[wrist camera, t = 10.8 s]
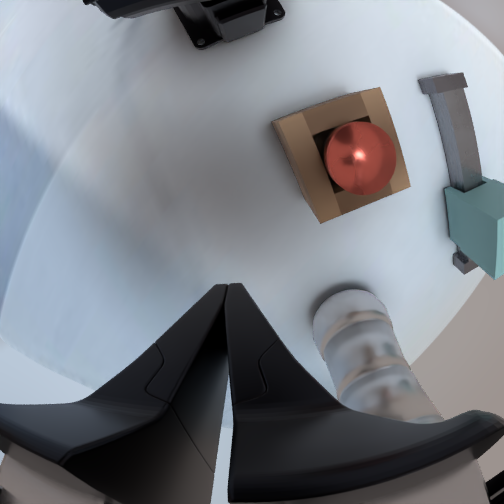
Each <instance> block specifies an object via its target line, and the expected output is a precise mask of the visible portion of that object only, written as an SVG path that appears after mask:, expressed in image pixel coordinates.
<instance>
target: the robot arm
mask: <svg viewBox="0 0 504 504" xmlns="http://www.w3.org/2000/svg"><path fill="white" fill-rule="evenodd" d="M83 2H84V4H85V5H89V4H92V5H94V6H97V7H98V8H99V9H100V11H101V12H103V13H104V14H106V15H107V16H109V17H111V18H113V19H117V18H119V17H124V18H136V17H139V16H142V15H146V14H149V13H153V12H156V11H160V10H164V9H168V8H172V7H173V8H174V10H175V12H176V14H177V15H178V17H179V19H180V21H181V22H182V24H183V26H184V28H185V30H186V31H187V33H188V35H189V37H190V39H191V40H192V42H193V44H194V46H195V47H196V48H197V49H200V50H202V49H206V48H208V47H210V46H212V45H214V44H217V43H219V42H221V41H223V40H224V41H226V42H230V41H233V40H235V39H238V38H240V37H243V36H245V35H248V34H251V33H253V32H256V31H259V30H262V29H263V27H264V25H266V24H269V23H272V22H275V21H278V20H281V19H283V18H284V16H285V11H284V9H283V7H282V6H281V4H280V2H279V1H278V0H83ZM274 12H280V13H281V15H275V14H274ZM201 40H204V41H205V43H204V44H203V45H198V43H199V41H201ZM228 375H229V378H230V389H231V400H232V410H233V436H232V446H231V457H230V468H229V478H228V502H229V503H230V504H504V470H503V471H502V472H500V473H499V474H498V475H496V476H495V477H493V478H492V479H491V480H489V481H487V482H486V483H485V480H484V478H483V475H482V472H481V470H480V467H479V464H478V461H477V459H478V458H479V457H480V456H481V455H483V454H484V453H485V452H486V451H487V450H488V449H490V448H491V447H492V446H493V445H494V444H495V443H496V442H497V441H498V440H499V439H500V438H501V437H502V436H503V435H504V419H503V418H502V417H500V416H498V415H496V414H493V413H490V412H483V411H480V410H471V411H467V412H465V413H462V414H460V415H458V416H455V417H453V418H451V419H448V420H445V421H442V422H437V423H427V424H419V423H411V422H405V421H400V420H395V419H390V418H385V417H380V416H376V415H372V414H367V413H363V412H359V411H355V410H352V409H350V408H348V407H346V406H345V405H343V404H342V403H340V402H339V401H338V400H337V399H335V398H334V397H333V396H332V395H331V394H330V393H329V392H328V391H327V390H326V389H325V388H324V387H323V386H322V385H321V384H320V383H319V382H318V381H317V380H316V379H315V378H314V377H313V376H312V375H311V374H309V373H308V372H307V371H306V370H305V368H304V367H303V366H302V365H301V364H300V363H299V362H298V361H297V360H296V359H295V358H294V356H293V355H292V354H291V353H290V351H289V350H288V349H287V347H286V346H285V345H284V343H283V342H282V340H280V338H279V336H278V335H277V333H276V332H275V331H274V329H273V328H272V326H271V325H270V323H269V322H268V321H267V319H266V318H265V316H264V315H263V313H262V312H261V310H260V309H259V308H258V306H257V305H256V303H255V302H254V300H253V299H252V297H251V296H250V294H249V293H248V292H247V290H246V289H245V287H244V286H243V284H242V283H231V284H229V285H228V284H216V285H214V286H213V287H212V288H211V289H210V290H209V291H208V292H207V293H206V294H205V295H204V296H203V297H202V298H201V299H200V300H199V301H198V302H196V303H195V304H194V305H193V306H192V307H191V308H190V309H189V310H188V311H187V312H186V313H185V314H184V315H183V316H182V317H181V318H180V319H179V320H178V321H176V322H175V323H174V324H173V325H172V326H171V327H170V328H169V329H168V330H167V331H166V332H165V333H164V334H163V335H162V336H161V337H160V338H159V339H158V340H157V341H156V342H155V343H153V344H152V345H151V346H150V347H149V348H148V349H147V350H146V351H145V352H144V353H143V354H141V355H140V356H139V357H138V358H137V359H136V360H135V361H134V362H132V363H131V364H130V365H129V366H127V367H126V368H125V369H124V370H122V371H121V372H120V373H119V374H117V375H116V376H115V377H113V378H112V379H111V380H109V381H108V382H107V383H106V384H104V385H103V386H102V387H100V388H99V389H98V390H96V391H95V392H94V393H92V394H91V395H89V396H88V397H86V398H84V399H83V400H80V401H77V402H73V403H65V404H42V405H41V404H39V405H15V404H2V403H0V450H1V451H2V452H3V453H5V455H4V458H3V460H2V463H1V465H0V504H210V503H211V496H212V488H213V481H214V473H215V466H216V459H217V452H218V445H219V438H220V430H221V424H222V417H223V410H224V403H225V396H226V389H227V382H228Z"/></svg>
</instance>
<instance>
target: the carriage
mask: <svg viewBox="0 0 504 504" xmlns="http://www.w3.org/2000/svg"><path fill="white" fill-rule="evenodd" d="M482 181H483V185H480V186H478V187H476V188H474V189H472V190H470V191H468V192H466V193H463V192H461V191H459V190H457V189H454V188H452V187H448V188H445V196H446V203H447V211H448V219H449V229H450V240H452V241H453V242H454V243H455V244H457V245H458V246H459V247H460V250H461V251H462V252H463V253H464V254H466V255H467V256H468V257H469V258H470V259H471V260H473V261H474V262H475V263H476V264H477V265H478V266H479V267H481V268H482V269H483V270H484V271H485V272H486V273H487V274H489V275H490V276H491V277H492V278H493V279H494V280H496V279H497V278H498V277H500V276H501V275H503V274H504V184H503V183H501V182H499V181H497V180H494V179H493V180H491V179H488V178H486V177H484V176H482Z"/></svg>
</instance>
